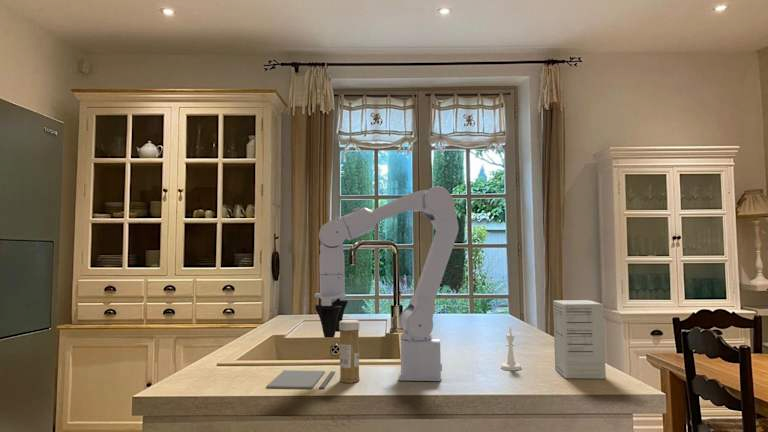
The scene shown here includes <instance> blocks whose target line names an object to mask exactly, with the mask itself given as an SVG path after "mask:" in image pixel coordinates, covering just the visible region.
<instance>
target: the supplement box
mask: <svg viewBox="0 0 768 432" xmlns="http://www.w3.org/2000/svg"><path fill="white" fill-rule="evenodd" d="M552 305H553V306H552V309H553V331H554V332H553V335H554V338H553V340H554V341H553V343H554V371H557V372H558V373H559V374H560V375H562V377H564V378H565V379H589V380H590V379H591V380H592V379H593V380H594V379H596V380H597V379H601V380H604V379H607V378H606V377H607V376H606V371H607V370H606V347H605V346H606V345H605V342H606V341H605V315H604V314H605V313H604V311H605V310H604V303H600V302H597V301H593V300H590V299H589V300H588V299H583V300H582V299H581V300H580V299H579V300H577V299H575V300H572V299H571V300H570V299H569V300H568V299H567V300H566V299H565V300H562V299H560V300H555V299H554V300H553V301H552Z"/></svg>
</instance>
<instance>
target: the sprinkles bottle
mask: <svg viewBox="0 0 768 432" xmlns="http://www.w3.org/2000/svg"><path fill="white" fill-rule="evenodd" d="M339 329H340V332H339V369H340V371H339V375H340V376H339V381H340V382H342V383H345V384H346V383H347V384H353V382H354V383H357V382H359V380H360V378H361V377H360V348H359V346H360V345H359V332H360V331H359V330H360V321H359V320H357V319H342V321H340V322H339Z"/></svg>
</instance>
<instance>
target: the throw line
mask: <svg viewBox="0 0 768 432" xmlns="http://www.w3.org/2000/svg"><path fill="white" fill-rule="evenodd" d="M334 373H336V371H333V370H332V371H331V370H330V372H329V374H328V375H327V376H326V378H325V379H324V381H323V382H322V383H321V385H320V386H319V387H318V389H319V390H324V389H326V387H327V385H328V384H329V383H330V381H331V379H332V378H333V377H334V375H335V374H334ZM332 376H333V377H332Z"/></svg>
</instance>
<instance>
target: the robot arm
mask: <svg viewBox="0 0 768 432" xmlns="http://www.w3.org/2000/svg"><path fill="white" fill-rule="evenodd" d="M407 211H408V212H415V213H417V212H420V213H422V214H423V215H424V216H425V217H426V218H427V219H428V220H429V221H430V223H431V225H432V226H433V228H434V230H435V233H434V235H433V239H432V241H431V245H430V248H429V249H428V254H427V255H426V259H425V262H424V264H423V268H422V271H421V273H420V276H419V279H418V282H417V284H416V288H415V290H414V293H413V295H412V296H411V298H410V300H409V302H408V305H407V306H406V308H404V309H403V310H402V312H401V314H399V315H400V316H399V324H400V327H401V328H402V330H403V332H402V333H401V335H400V370H399V373H398V381H410V382H411V381H412V382H415V381H416V382H418V381H419V382H420V381H421V382H440V381H442V380H441V377H442V372H443V363H442V362H441V339H440V338H436V337H435V338H433V335H432V334H431V333H432V332H433V330H434V321H433V318H434V313H435V301H436V297H437V294H438V293H439V290H440V289H439V288H440V285H441V283H442V279H443V277H444V275H445V272H446V269H447V265H448V263H449V260H450V257H451V254H452V252H453V251H452V250H453V248H454V245H455V242H456V241H457V236H458V234H459V231H460V230H459V229H460V227H459V221H458V217H457V212H456V201H455V199H454V197H453V196H452V195H451V193H450V192H449V190H448V189H447V188H445V187H443V186H438V185H437V186H433V187H431V188H429V189H422V190H418V191H414V192H411V193H410V192H409V194H405V195H403V196H401V197H399V198H396V199H395V200H392V201H390V202H387V203H385V204H382V205H381V206H378V207H377V208H375V209H369V208H367V207H362V208H361V207H360V206H358V207H355V208H353V211H352V212H349V213H347V214H345V215H342V216H339V215H338V216H335V217H334V220H329V221H327V222H326V223H324V224H323V225H322V226H321V228H319V234H318V239H319V241H320V245H319V252H320V253H319V254H318V255H319V256H318V257H319V258H318V259H319V262H318V264H319V265H318V266H319V269H318V270H319V272H318V273H319V292H316V293H314V296H313V297H314V298H319V299H321V304H316V305H315V311H316V313H317V315H318V317H319V319H320V323H321V329H322V333H323V337H324V339H325V338H326V339H329V338H330V339H331V338H335V335H336V332H339V333H340V329H339V322H340V321H342V320H343V316H344V312H345V309H346V307H347V305H348V303H349V300H348V299H344V298H346V295H347V294H346V289H345V288H346V287H345V285H346V284H345V279H346V278H345V277H346V276H345V269H346V268H345V253H344V242H345V240H347V241H351V240H354V239H356V238H358V237H360V236H363V235H366V234H368V233H370V232H372V231H374V230H375V228H376V226H377V224H378V223H379V222H381V221H384V220H386V219H389V218H391V217H395V216H397V215H400V214H402V213H404V212H407Z"/></svg>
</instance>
